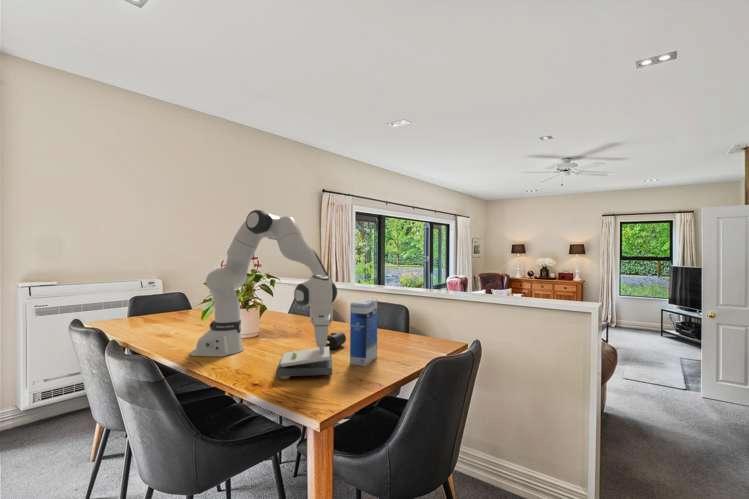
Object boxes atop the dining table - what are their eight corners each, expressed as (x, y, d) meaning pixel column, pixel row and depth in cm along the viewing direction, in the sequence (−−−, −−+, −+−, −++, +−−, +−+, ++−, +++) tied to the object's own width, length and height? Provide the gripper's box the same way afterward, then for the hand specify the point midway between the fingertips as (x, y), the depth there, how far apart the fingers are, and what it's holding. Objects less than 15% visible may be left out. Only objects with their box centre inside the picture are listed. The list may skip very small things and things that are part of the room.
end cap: (336, 351, 172) (336, 336, 172) (323, 349, 175) (323, 335, 175) (346, 346, 181) (346, 332, 181) (333, 344, 184) (333, 331, 184)
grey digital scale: (276, 382, 133) (276, 369, 133) (282, 366, 150) (282, 355, 150) (332, 379, 135) (332, 367, 135) (331, 364, 153) (331, 353, 153)
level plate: (278, 367, 135) (277, 359, 135) (282, 356, 149) (282, 349, 148) (329, 359, 137) (328, 352, 137) (329, 349, 151) (328, 342, 151)
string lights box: (362, 355, 165) (362, 298, 165) (378, 357, 162) (378, 299, 162) (349, 364, 153) (349, 302, 153) (366, 366, 150) (366, 303, 150)
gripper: (314, 312, 153) (314, 345, 153) (312, 322, 133) (312, 360, 133) (329, 311, 154) (329, 344, 154) (329, 321, 134) (330, 359, 134)
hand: (321, 351), depth 144 cm, fingers closed, pressing on level plate
